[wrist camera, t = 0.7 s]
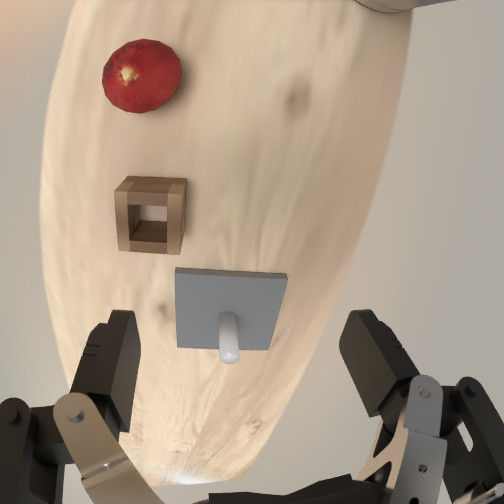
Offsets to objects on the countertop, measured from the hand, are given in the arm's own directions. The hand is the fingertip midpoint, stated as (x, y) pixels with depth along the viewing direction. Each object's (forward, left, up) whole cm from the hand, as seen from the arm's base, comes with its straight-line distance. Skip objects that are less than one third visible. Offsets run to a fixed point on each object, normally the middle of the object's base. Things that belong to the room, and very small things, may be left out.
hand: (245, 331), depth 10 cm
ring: (+3, -6, -18) cm, 20 cm away
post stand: (+16, +2, -18) cm, 25 cm away
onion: (-9, -7, -19) cm, 22 cm away
